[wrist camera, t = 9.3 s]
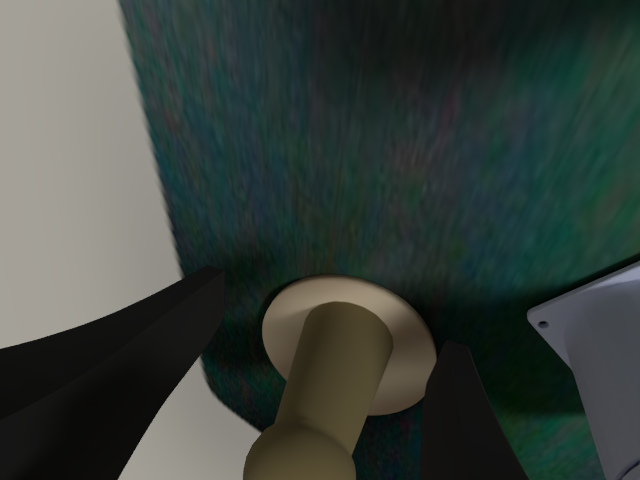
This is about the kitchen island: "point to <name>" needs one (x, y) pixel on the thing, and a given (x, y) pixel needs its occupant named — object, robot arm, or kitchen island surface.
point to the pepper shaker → (324, 397)
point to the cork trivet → (401, 319)
